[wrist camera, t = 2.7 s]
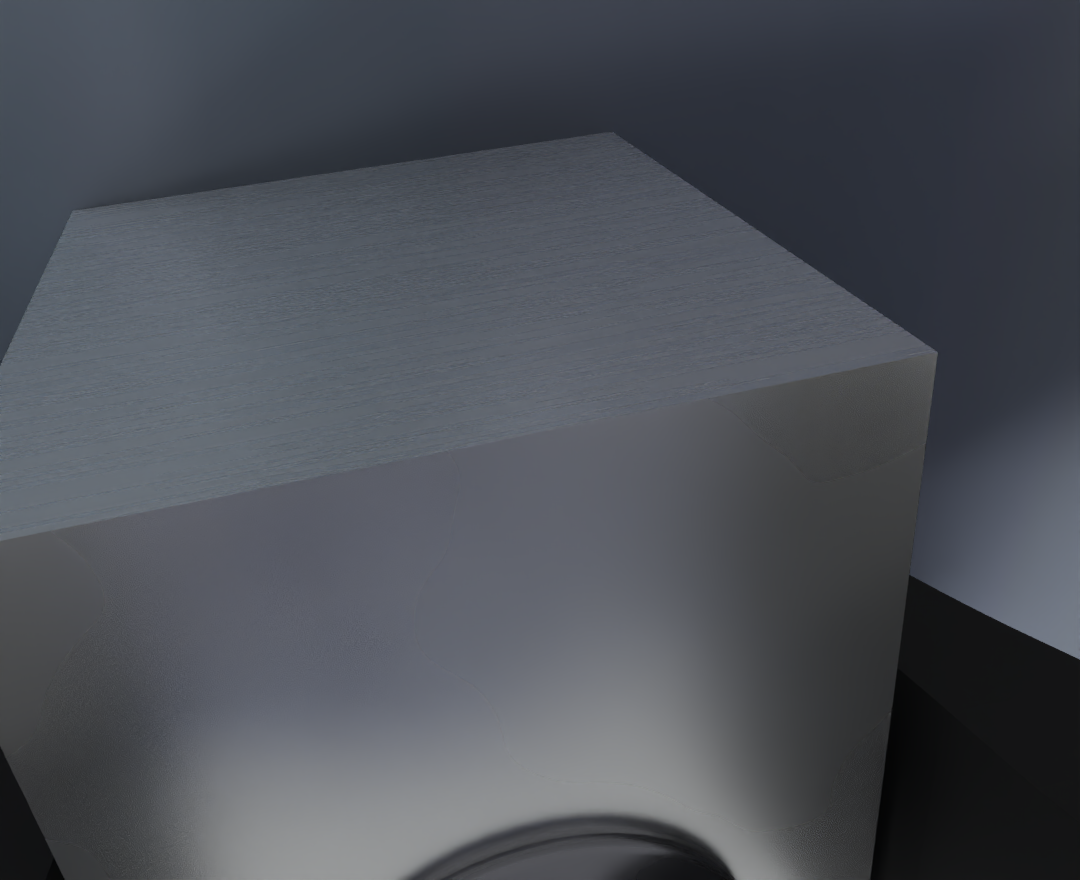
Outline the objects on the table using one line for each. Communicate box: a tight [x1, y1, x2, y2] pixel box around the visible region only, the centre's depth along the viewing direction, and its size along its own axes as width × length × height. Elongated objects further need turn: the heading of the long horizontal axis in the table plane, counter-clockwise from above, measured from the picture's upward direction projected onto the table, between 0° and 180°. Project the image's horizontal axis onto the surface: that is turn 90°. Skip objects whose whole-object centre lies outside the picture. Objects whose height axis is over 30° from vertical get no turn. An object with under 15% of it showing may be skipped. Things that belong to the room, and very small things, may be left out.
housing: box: [0, 132, 938, 880], centre depth 8 cm, size 4×8×5 cm, turn 4°
